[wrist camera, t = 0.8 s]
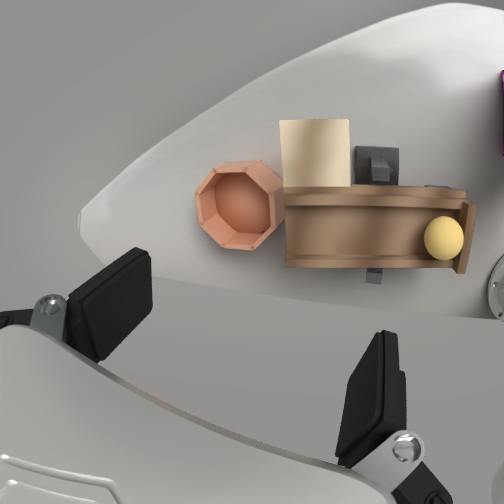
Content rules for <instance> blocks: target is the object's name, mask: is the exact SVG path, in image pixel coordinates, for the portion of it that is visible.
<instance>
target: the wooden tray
mask: <svg viewBox="0 0 504 504" xmlns="http://www.w3.org/2000/svg"><path fill="white" fill-rule="evenodd" d="M279 126H280V140H281V155H282V171H283V189H284V194H283V206H284V208H285V229H286V259H285V263H286V267H299V268H453V269H454V271H455V272H456V273H457V274H465V271H466V267H467V262H468V258H469V253H470V248H471V243H472V237H473V231H474V225H475V218H476V211H477V205H476V204H474V203H472V202H471V201H469V200H468V199H466V192H465V191H463V190H459V189H451V188H450V187H446V186H431V185H425V187H414V186H392V185H355V184H350V138H349V119H307V120H279ZM441 216H446V217H450V218H452V219H454V220H455V221H456V222H457V223H458V224H459V225H460V227H461V228H462V231H463V235H464V242H463V246H462V249H461V251H460V252H459V253H458V254H457V255H456V256H455V257H454V258H452V259H449V260H439V259H436V258H434V257H433V256H432V255H431V254H430V253H429V252H428V250H427V249H426V246H425V243H424V233H425V230H426V227H427V226H428V224H429V223H430V222H431V221H432V220H433V219H435V218H437V217H441Z"/></svg>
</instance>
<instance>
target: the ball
mask: <svg viewBox="0 0 504 504" xmlns="http://www.w3.org/2000/svg"><path fill="white" fill-rule="evenodd" d="M463 242H464V235H463V231H462V228H461V227H460V225H459V224H458V223H457V222H456V221H455V220H454V219H452V218H450V217H446V216H441V217H437V218H435V219H433V220H432V221H431V222H430V223H429V224H428V226H427V227H426V230H425V233H424V243H425V246H426V249H427V250H428V252H429V253H430V254H431V255H432V256H433V257H434V258H436V259H439V260H449V259H452V258H454V257H455V256H456V255H457V254H458V253H459V252H460V251H461V249H462V246H463Z"/></svg>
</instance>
